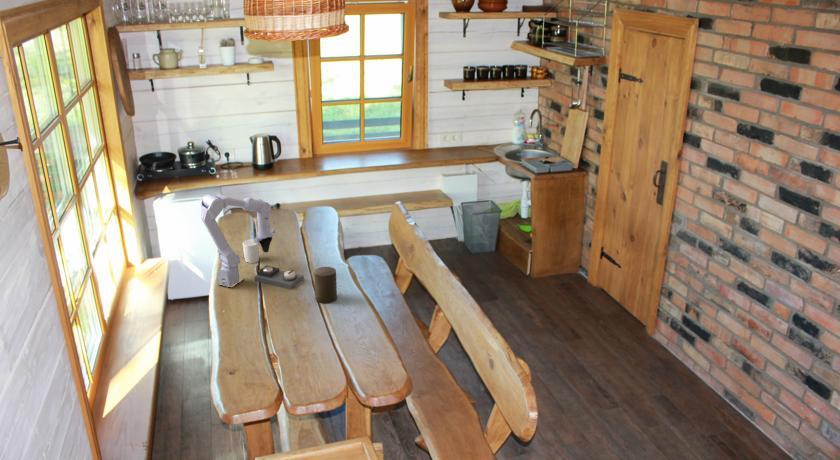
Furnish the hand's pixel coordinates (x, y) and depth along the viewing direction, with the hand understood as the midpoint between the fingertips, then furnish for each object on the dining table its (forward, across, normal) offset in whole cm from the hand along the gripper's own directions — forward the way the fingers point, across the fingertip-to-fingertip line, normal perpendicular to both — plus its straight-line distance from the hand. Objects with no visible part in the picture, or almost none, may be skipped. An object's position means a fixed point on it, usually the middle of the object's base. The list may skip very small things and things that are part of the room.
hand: (265, 251), depth 338 cm
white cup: (+11, +7, +14) cm, 19 cm away
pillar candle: (+11, -12, -40) cm, 43 cm away
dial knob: (+7, -6, -17) cm, 19 cm away
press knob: (+7, -6, -5) cm, 11 cm away
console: (+10, -6, -11) cm, 16 cm away
